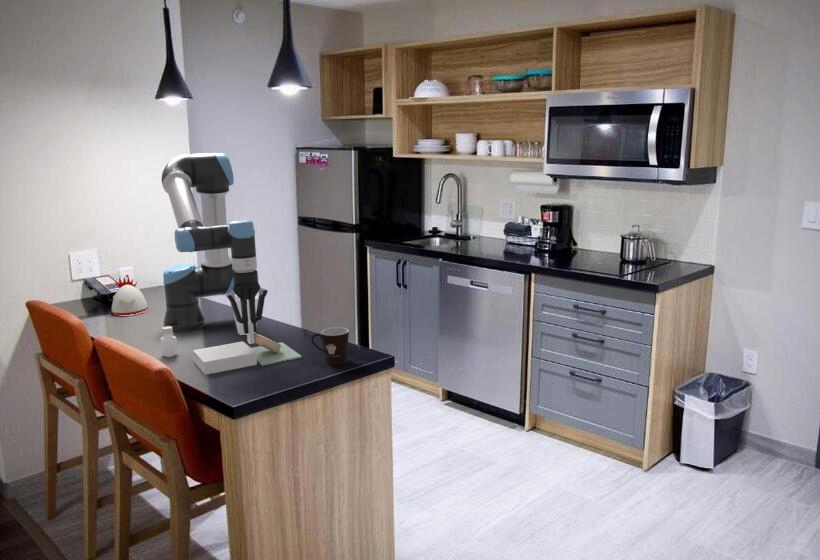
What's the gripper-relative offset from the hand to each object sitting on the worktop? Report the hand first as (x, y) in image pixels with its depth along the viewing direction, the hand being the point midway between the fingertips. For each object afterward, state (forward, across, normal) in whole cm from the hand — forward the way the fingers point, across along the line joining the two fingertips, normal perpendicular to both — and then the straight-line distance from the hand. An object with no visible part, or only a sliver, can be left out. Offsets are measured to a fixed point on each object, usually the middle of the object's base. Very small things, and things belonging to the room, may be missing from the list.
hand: (251, 342), depth 217 cm
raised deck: (+5, -9, 0) cm, 10 cm away
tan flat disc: (+2, +4, 0) cm, 5 cm away
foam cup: (+5, +7, +29) cm, 30 cm away
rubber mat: (+5, +7, 0) cm, 9 cm away
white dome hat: (+6, -24, +89) cm, 92 cm away
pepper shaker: (+6, -22, +19) cm, 29 cm away
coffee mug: (+6, +20, -18) cm, 28 cm away
